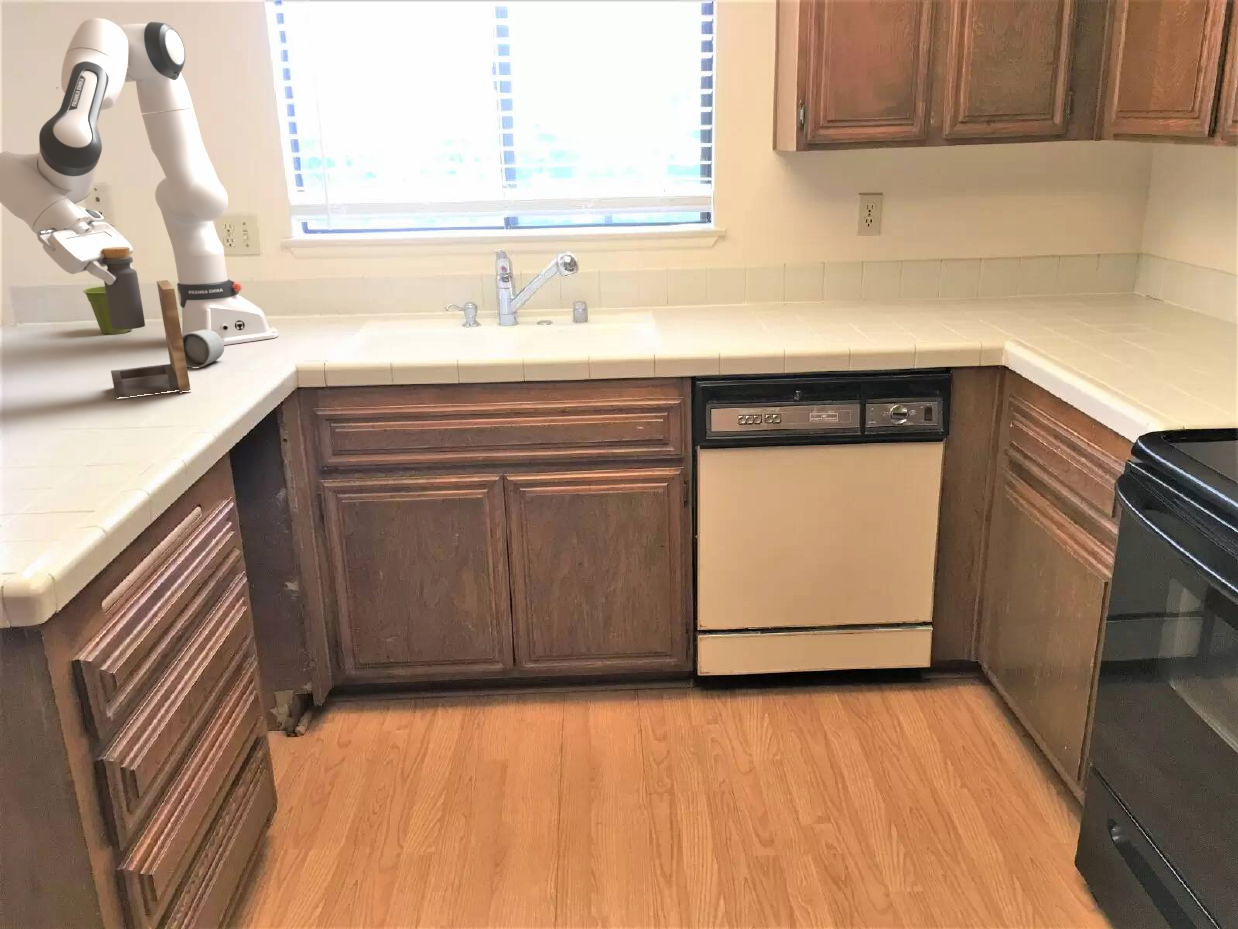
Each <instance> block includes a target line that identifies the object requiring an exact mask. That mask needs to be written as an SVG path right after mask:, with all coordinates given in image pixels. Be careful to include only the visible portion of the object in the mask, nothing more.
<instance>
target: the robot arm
mask: <svg viewBox="0 0 1238 929" xmlns="http://www.w3.org/2000/svg"><path fill="white" fill-rule="evenodd" d="M185 63H186V50H185V45H184V43H183V40H182V38H181V35H180V34H179V33H178V31H176V29H174V28H173V27H172V26H171V25H170V24H168V23H166V22H158V21H156V22H155V21H151V22H148V23H126V24H125V23H124V24H121V25H119V26H118V25H117V24H116V23H114V22H113V21H111V20H108V19H105V18H101V17H93V18H91V17H90V18H89V19H86V20H84V21H82V23H81V24H79V27H78V28H77V29H76V30H75V33H74V34H73V36H72V38H71V40H70V42H69V44H68V47H67V50H66V52H65V56H64V59H63V63H62V66H61V67H62V68H61V80H60V82H61V90H62V92H64V95H63V96H64V97H63V99H62V102H61V105H60V108H59V110H58V111H57V112H56V113H55V114H54V115H53V116H51V118H50V119H48V120H47V121H46V122H45V123H44V124H43V125H42V127H41V129H40V131H39V135H38V136H39V138H38V140H39V143H38V144H39V150H38V151H39V152H37V153H29V154H23V153H14V152H10V151H3V152H0V203H1V204H2V205H3V206H4V207H5V209H7V210H8V211H9V212H10V213H11V214H13V215H14V216H15V217H16V218H19V219H21V220H22V221H24V222H25V224H27V225H28V228H30V230H31V231H32V232H33V233H34V234H36V237H37V240H38V242H40V243H41V244H42V249H43V250H44V252H45V253H46V254H47V255H48V256H49V257H50V258H51V259H52V260H53V261H54V262H55V263H56V264H57V265H58V266H59V267H60V268H61V269H63V271H65V272H67V273H69V274H71V275H74V274H79V273H83V272H84V273H85V272H88V274H90V275H92V276H94V277H95V278H98V279H100V280H102V281H103V282H104V281H105V282H106V283H107V284H108V285H111V284H115V283H116V281H117V280H118V277H117V276H116V275H115V274H114V273H113V272H109V271H107V268H104V267H107V265H106V264H104V263H103V259H104V258H105V255H104V253H103V251H102V249H103V248H110V247H129V248H130V252H129V256H130V257H131V255H132V253H133V252H134V248H133V246H132V244H131V243H130V242H129V241H128V240H127V239H126V238H125V237H124V236H123V235H122V234H121V233H119V232H118V230H116V229H115V228H114V227H113V226H112V225H111V224H109V223H107V222H105V221H104V219H105V217H104V216H103V215H102V214H101V213H100V212H99V211H96V210H93V209H88V208H85V207H83V206H80V205H78V203H79V202H81V201H83V200H85V199H86V198H88V196H89V195H90V194H91V192H92V190H93V187H94V184H95V183H94V182H95V178H96V175H97V174H96V173H97V168H98V164H99V160H100V157H101V155H102V151H103V146H102V145H103V144H102V139H101V137H100V133H99V129H98V120H99V117H100V115H101V114H100V113H101V110H102V111H103V110H108V109H111V108H112V107H114V105H115V104H116V103H117V101H118V99H119V97H120V95H121V93H122V91H123V88H124V85H125V83H128V82H129V83H130V82H133V83H134V82H135V86H136V94H137V99H138V104H139V109H140V113H141V117H142V120H143V123H144V126H145V130H146V134H147V137H148V141H149V145H150V147H151V148H150V149H151V151H152V153H153V155H155V157H156V159H157V160H158V163H159V165H160V167H161V168H162V171H163V173H164V176H165V177H164V178H163V179H162V180H161V181H160V182H159V183H158V184H157V186H156V188H155V193H154V197H155V201H156V205H157V206H158V208H159V210H160V212H161V214H162V215H161V216H162V219H163V223H164V225H165V226H164V227H165V228H166V231H167V234H168V235H167V236H168V237H169V240H170V243H171V245H172V251H173V255H174V262H175V267H176V268H175V269H176V274H177V278H178V279H177V280H178V281H177V284H176V285H177V288H176V290H177V296H178V303H179V305H180V308H181V313H182V320H181V321H182V322H181V324H182V326H181V327H182V328H181V333H182V335H184V334H186V333H190V332H194V331H199V330H211V331H214V332H216V333H217V334H218V335H219V336H220V337H221V338H222V340H223V343H224V346H226V345H227V346H229V345H234V344H240V343H242V344H243V343H249V342H254V341H261V340H268V339H275V338H277V337H278V336H279V335H280V333H279V331H278V328H276V327H273V326H269V322H268V318H267V316H266V314H265V312H264V310H263V309H262V308H260V307H259V306H257V305H256V304H254V303H253V302H251V301H250V300H248V299H246V298H245V297H243V296H241V295H239V293H240V292H242V290H243V286H242V284H241V283H240V282H235V281H234V280H231V279H229V278H228V270H227V262H226V257H225V249H224V246H223V244H222V242H221V241H220V238H219V236H218V233H217V231H216V227H215V225H214V222H215V221H217V220H218V219H220V218H221V217H222V216H224V214H225V213H226V212H227V209H228V207H229V197H228V193H227V190H226V189H225V187H224V186H223V185H222V184H221V182H220V180H219V178H218V175H217V173H216V170H215V168H214V165H213V164H212V161H211V160H210V157H209V155H208V152H207V151H206V147H205V145H204V143H203V139H202V135H201V131H200V128H199V124H198V120H197V116H196V113H195V109H194V106H193V102H192V98H191V94H190V91H189V89H188V86H187V83H186V81H185V79H184V77H183V75H182V71H183V68H184V66H185ZM130 267H131V268H132V269H134V268H133V267H132V265H131V264H130ZM134 270H136V269H134ZM136 272H137V273H138V271H137V270H136Z"/></svg>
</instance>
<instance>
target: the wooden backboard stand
mask: <svg viewBox="0 0 1238 929" xmlns="http://www.w3.org/2000/svg"><path fill="white" fill-rule="evenodd" d="M156 285H157V291H158V297H159V298H158V299H159V302H160V303H159V304H160V309H161V314H162V320H163V327H164V328H163V329H164V333H165V339H166V344H167V351H168V352H167V353H168V358H169V363H168V364H159V365H151V366H139V367H131V368H130V367H129V368H123V369H122V368H121V369H115V370H114V369H113V370H110V374H111V379H112V385H113V390H114V394H116V395H115V399H116V398H119V397H130V396H137V395H144V394H155V393H161V392H167V391H175V390H179V392H182V391H189V390H192V389H191V383H190V377H189V372H188V366H187V364H186V358H185V352H184V346H183V339H182V328H181V327H182V326H181V322H180V316H179V309H178V303H177V298H176V291H175V287H173V285H172V284H171V283H170V282H169V280H168V279H164V280H156ZM179 392H178V393H179Z"/></svg>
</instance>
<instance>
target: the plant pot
mask: <svg viewBox="0 0 1238 929" xmlns="http://www.w3.org/2000/svg"><path fill="white" fill-rule="evenodd" d="M82 292H83V293H85V295H86V297H87V301H88V302H89V304H90V306H91V309H92V312H93V314H94V316H95V319H96V321H97V325H98V327H99V330H100V332H101V334H103V335H106V334H109V335H119V334H122V333H123V334H125V333H127V332H132V331H133V329H125V330H118V329H113V328H112V325H111V319H110V314H109V308H108V302H107V296H106V290H105V285H101V286H93V287H89V288H85V289H83V290H82Z"/></svg>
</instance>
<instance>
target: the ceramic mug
mask: <svg viewBox="0 0 1238 929" xmlns="http://www.w3.org/2000/svg"><path fill="white" fill-rule="evenodd" d="M182 339H183V346H184V352H185V358H186V364H187V368H190V367H201V368H203V367H206V366H208V365H209V364H211V363H214V362H216V361H218V360H219V359H220V358H221V356H223V354H224V350H225V345H224V343H223V340H222V338H221V337H220V336H219V335H218V334H217V333H216V332H214V331H211V330H199V331H194V332H190V333H186V334H184V335H182Z"/></svg>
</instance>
